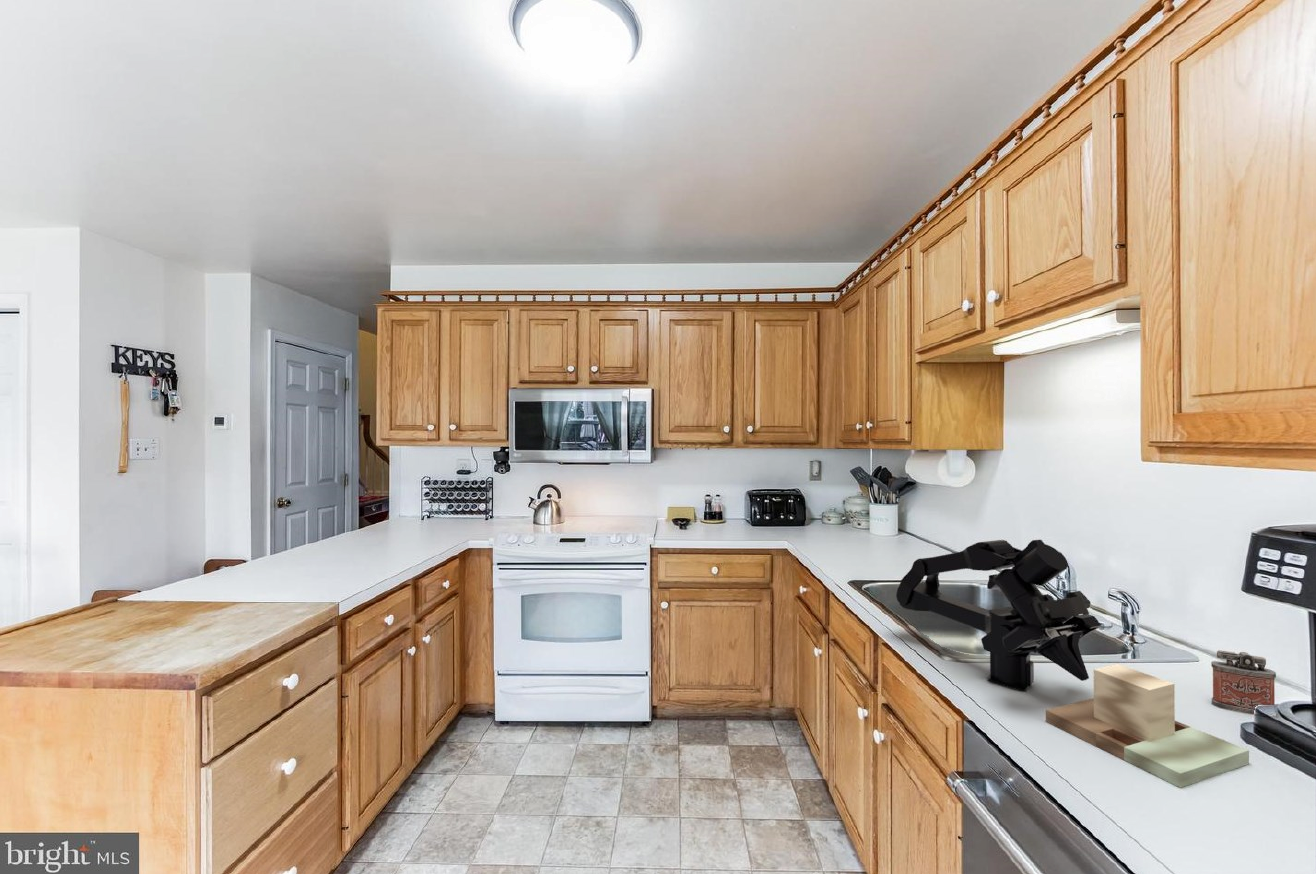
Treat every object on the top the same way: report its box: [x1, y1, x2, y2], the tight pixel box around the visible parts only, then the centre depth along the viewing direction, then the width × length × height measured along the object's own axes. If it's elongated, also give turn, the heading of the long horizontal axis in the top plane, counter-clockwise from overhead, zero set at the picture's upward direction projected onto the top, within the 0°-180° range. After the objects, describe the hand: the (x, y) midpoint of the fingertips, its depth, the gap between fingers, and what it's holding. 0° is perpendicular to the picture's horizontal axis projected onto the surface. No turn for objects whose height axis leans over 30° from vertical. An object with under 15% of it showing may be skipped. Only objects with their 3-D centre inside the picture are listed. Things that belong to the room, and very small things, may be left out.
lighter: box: [1210, 649, 1277, 715], centre depth 99 cm, size 8×3×10 cm, turn 59°
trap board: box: [1045, 697, 1250, 788], centre depth 89 cm, size 19×16×2 cm
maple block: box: [1093, 663, 1176, 742], centre depth 90 cm, size 8×6×8 cm
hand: (1085, 679), depth 97 cm, fingers closed
